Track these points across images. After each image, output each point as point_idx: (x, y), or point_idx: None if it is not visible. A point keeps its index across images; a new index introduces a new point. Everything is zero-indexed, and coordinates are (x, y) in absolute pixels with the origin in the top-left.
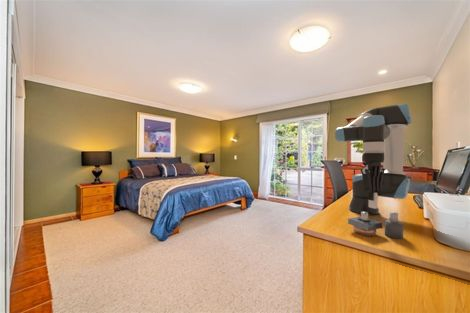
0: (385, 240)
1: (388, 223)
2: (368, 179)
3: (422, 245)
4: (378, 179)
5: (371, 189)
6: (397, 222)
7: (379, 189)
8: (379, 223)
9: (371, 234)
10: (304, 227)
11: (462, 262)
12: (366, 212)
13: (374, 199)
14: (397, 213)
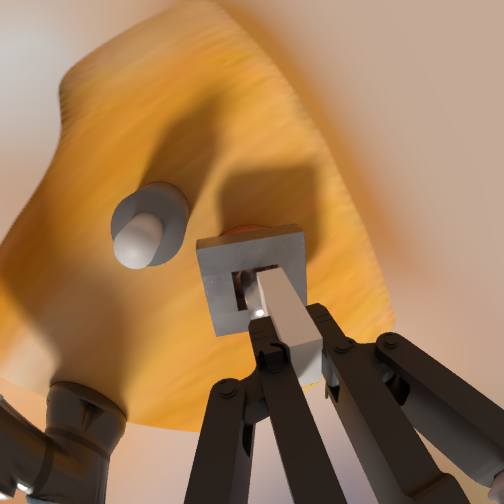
0: (232, 186)
1: (184, 226)
2: (489, 403)
3: (133, 124)
4: (299, 494)
5: (394, 348)
6: (142, 213)
7: (243, 388)
8: (217, 245)
9: (258, 228)
10: (391, 326)
11: (152, 20)
12: (259, 307)
13: (301, 307)
14: (128, 228)
